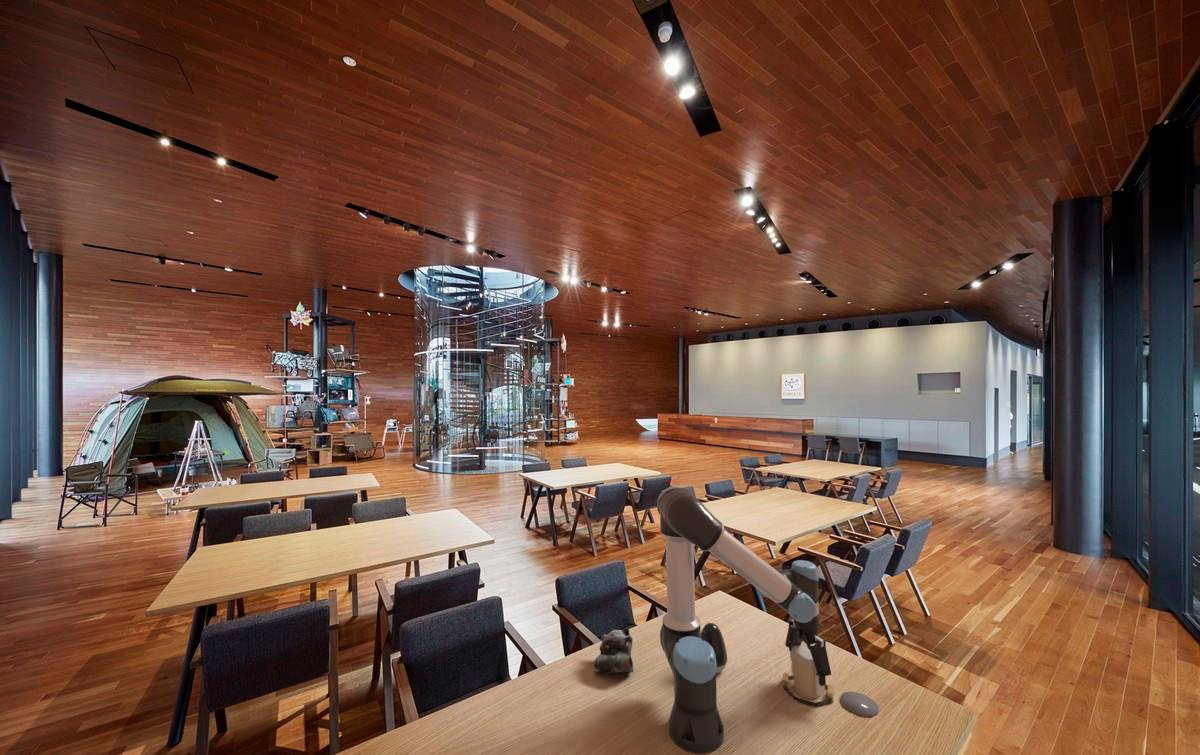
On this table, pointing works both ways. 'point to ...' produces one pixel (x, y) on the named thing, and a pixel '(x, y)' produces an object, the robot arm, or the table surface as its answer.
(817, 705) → the socket ring
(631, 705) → the table surface
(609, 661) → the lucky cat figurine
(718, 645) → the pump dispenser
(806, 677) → the coffee cup
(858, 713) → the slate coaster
